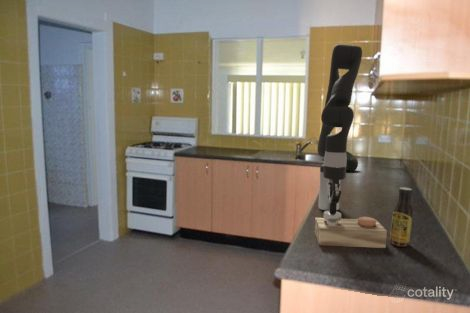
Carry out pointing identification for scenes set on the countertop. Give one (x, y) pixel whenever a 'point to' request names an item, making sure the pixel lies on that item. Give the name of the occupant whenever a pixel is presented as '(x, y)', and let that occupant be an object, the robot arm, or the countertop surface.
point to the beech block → (350, 234)
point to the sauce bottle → (402, 219)
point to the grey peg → (332, 218)
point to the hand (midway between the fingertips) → (332, 213)
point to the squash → (351, 162)
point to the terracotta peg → (367, 222)
